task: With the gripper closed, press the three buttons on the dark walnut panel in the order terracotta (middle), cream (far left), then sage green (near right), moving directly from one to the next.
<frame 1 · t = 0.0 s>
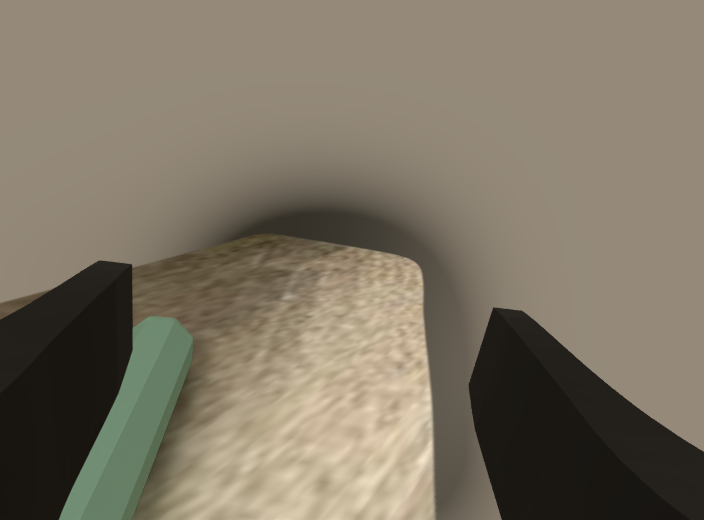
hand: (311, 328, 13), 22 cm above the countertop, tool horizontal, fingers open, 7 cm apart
container: (113, 483, 37), on the countertop
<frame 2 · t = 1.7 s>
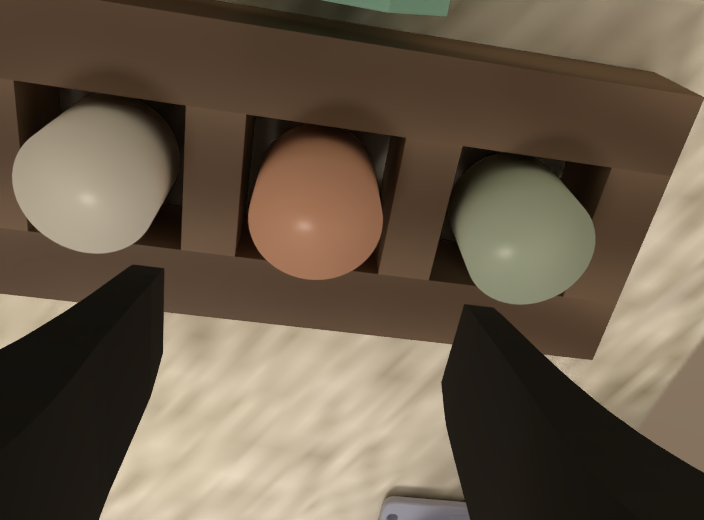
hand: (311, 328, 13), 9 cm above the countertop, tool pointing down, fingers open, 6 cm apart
sage button: (516, 226, 19), point 3 cm above the countertop, slide at 0.0 cm
button panel: (318, 163, 21), on the countertop
cream button: (103, 171, 18), point 3 cm above the countertop, slide at 0.0 cm
terracotta button: (316, 199, 18), point 3 cm above the countertop, slide at 0.0 cm
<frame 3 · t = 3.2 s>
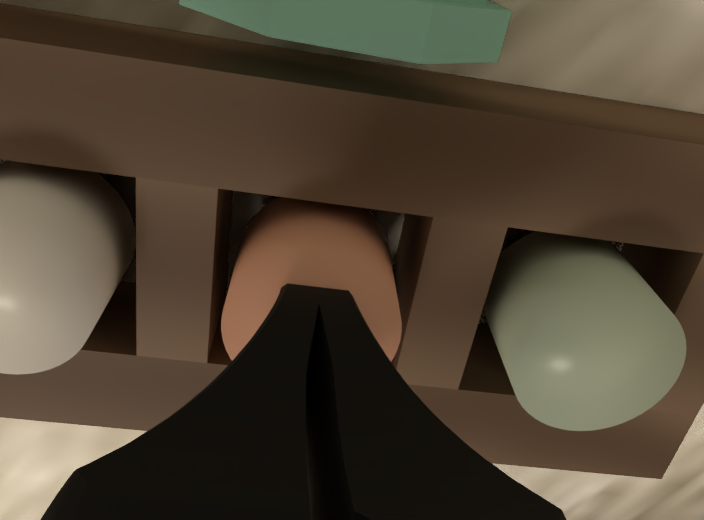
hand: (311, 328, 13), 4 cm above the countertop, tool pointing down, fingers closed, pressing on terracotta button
sage button: (574, 325, 14), point 3 cm above the countertop, slide at 0.0 cm
button panel: (316, 233, 16), on the countertop
cream button: (28, 260, 13), point 3 cm above the countertop, slide at 0.0 cm
terracotta button: (313, 291, 14), point 3 cm above the countertop, slide at 0.1 cm, touching gripper
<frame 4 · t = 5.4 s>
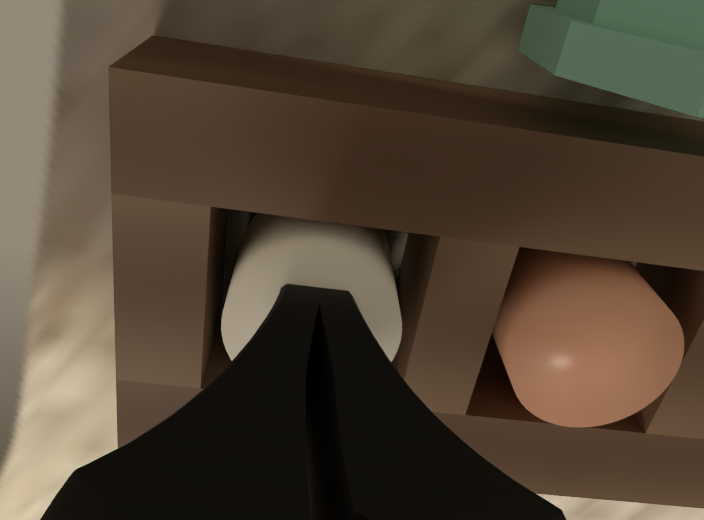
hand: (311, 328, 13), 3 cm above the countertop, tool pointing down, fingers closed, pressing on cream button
button panel: (546, 278, 16), on the countertop
cream button: (313, 291, 14), point 2 cm above the countertop, slide at 1.0 cm, touching gripper
terracotta button: (572, 322, 15), point 2 cm above the countertop, slide at 1.0 cm
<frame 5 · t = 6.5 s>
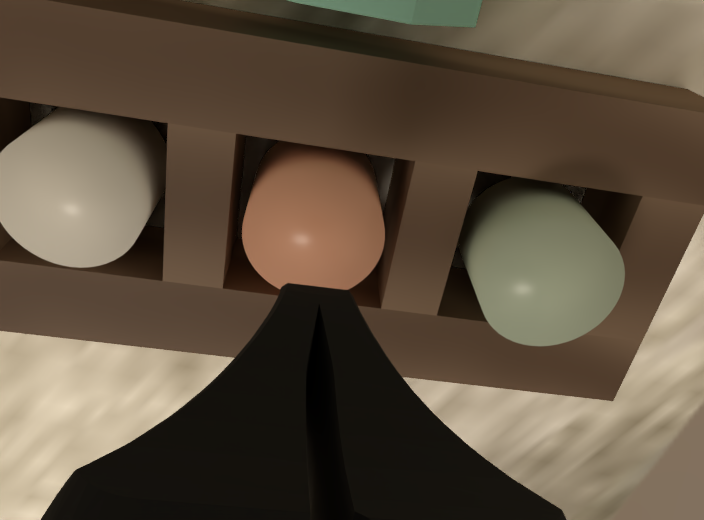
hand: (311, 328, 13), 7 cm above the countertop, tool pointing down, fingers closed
sage button: (534, 258, 17), point 3 cm above the countertop, slide at 0.0 cm
button panel: (316, 183, 19), on the countertop
cream button: (88, 179, 17), point 2 cm above the countertop, slide at 1.0 cm
terracotta button: (314, 211, 17), point 2 cm above the countertop, slide at 1.0 cm
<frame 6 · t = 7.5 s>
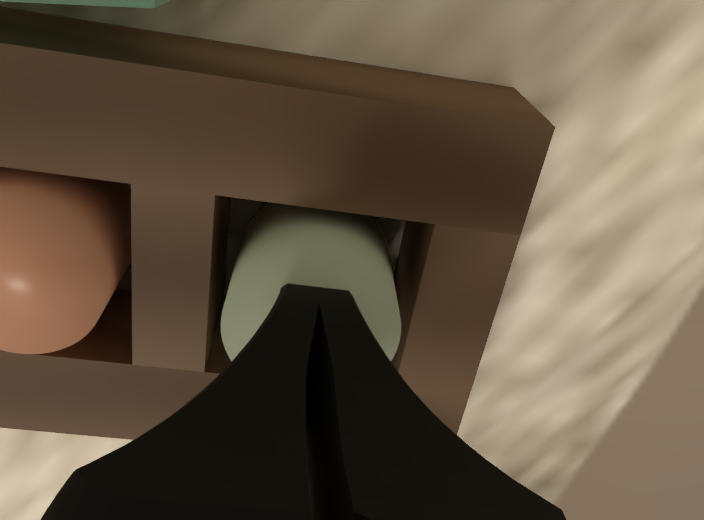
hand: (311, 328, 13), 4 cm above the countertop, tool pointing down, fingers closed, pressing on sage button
sage button: (313, 292, 14), point 3 cm above the countertop, slide at 0.4 cm, touching gripper
button panel: (73, 208, 16), on the countertop
terracotta button: (41, 246, 14), point 2 cm above the countertop, slide at 1.0 cm
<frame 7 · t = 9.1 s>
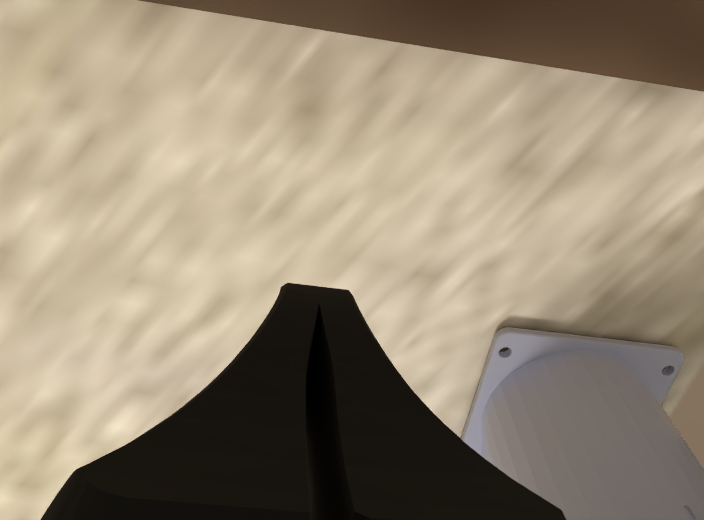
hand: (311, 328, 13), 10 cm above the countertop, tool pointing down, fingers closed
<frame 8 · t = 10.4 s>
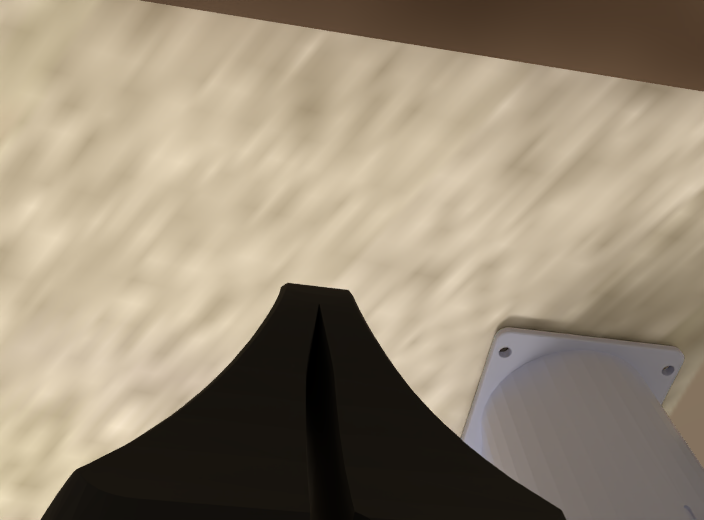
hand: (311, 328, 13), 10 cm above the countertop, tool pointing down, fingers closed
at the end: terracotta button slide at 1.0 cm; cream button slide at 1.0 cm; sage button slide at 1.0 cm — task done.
